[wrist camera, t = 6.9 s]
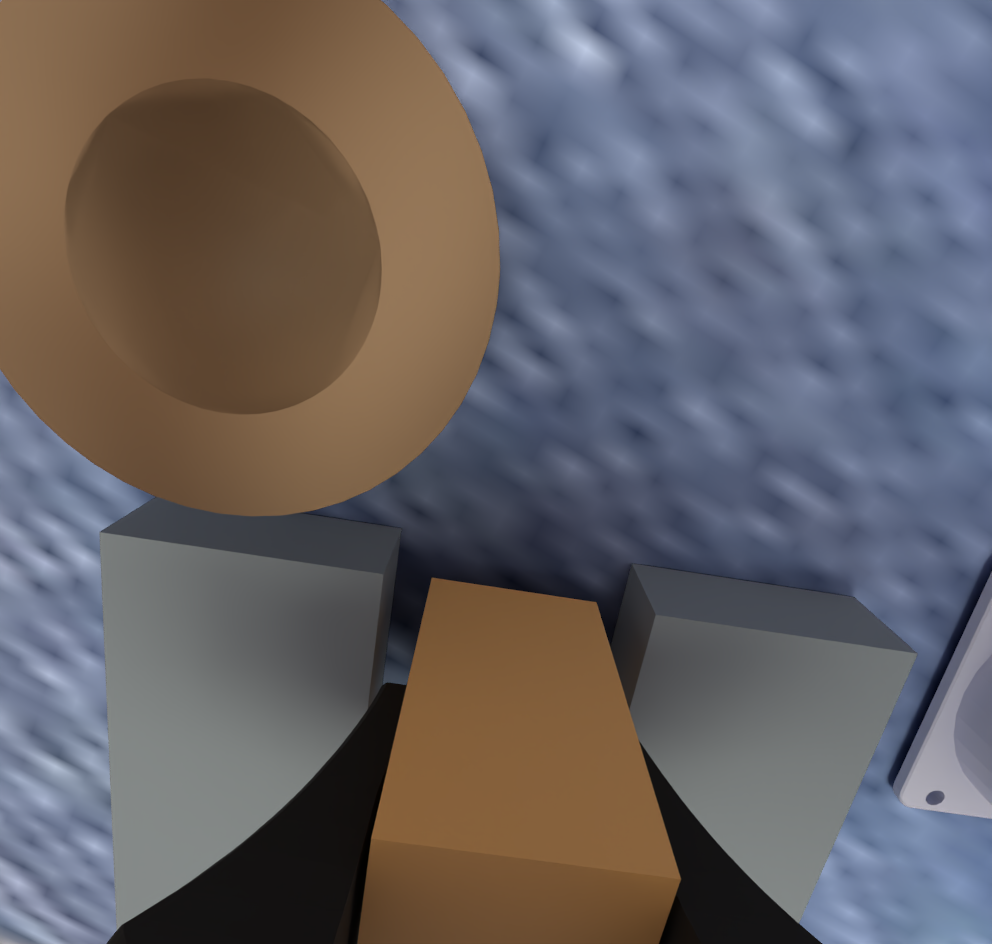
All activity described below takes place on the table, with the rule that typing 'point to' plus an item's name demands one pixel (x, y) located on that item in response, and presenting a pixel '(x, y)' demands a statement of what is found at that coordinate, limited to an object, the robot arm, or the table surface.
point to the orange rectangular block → (515, 785)
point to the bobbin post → (239, 243)
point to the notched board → (359, 676)
